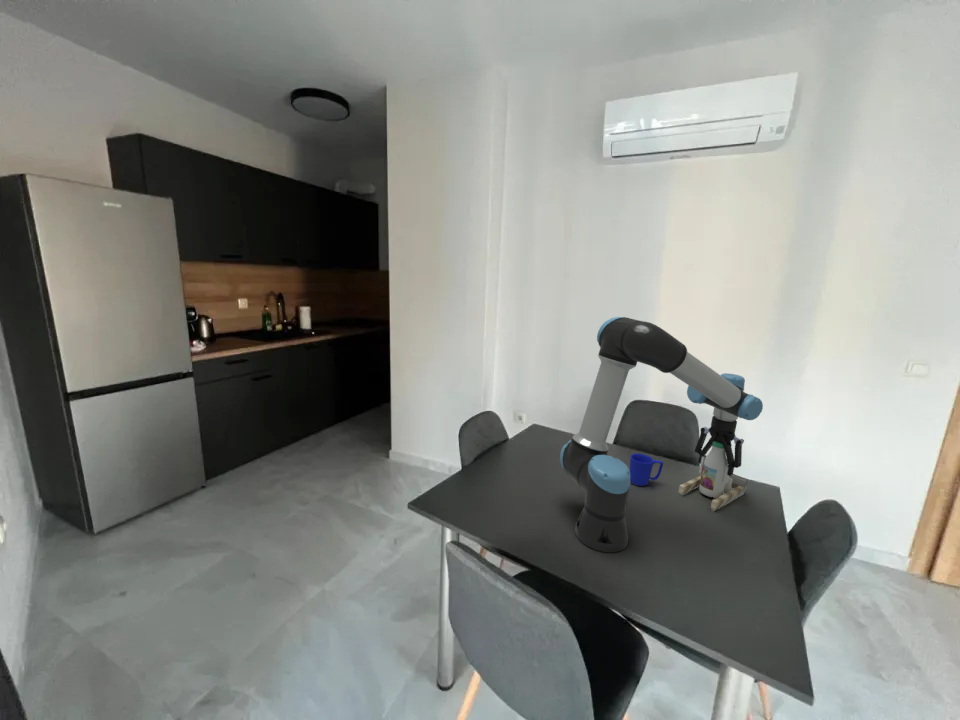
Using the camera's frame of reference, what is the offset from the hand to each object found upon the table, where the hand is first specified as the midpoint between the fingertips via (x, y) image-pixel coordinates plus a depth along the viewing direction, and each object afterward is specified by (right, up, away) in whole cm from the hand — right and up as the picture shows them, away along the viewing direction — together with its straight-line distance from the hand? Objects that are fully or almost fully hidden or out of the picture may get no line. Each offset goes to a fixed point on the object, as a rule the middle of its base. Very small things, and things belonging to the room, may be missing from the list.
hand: (713, 477), depth 148 cm
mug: (-22, -4, +8) cm, 24 cm away
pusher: (+4, -6, +5) cm, 9 cm away
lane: (+1, -7, +2) cm, 7 cm away
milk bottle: (0, -6, +1) cm, 6 cm away
